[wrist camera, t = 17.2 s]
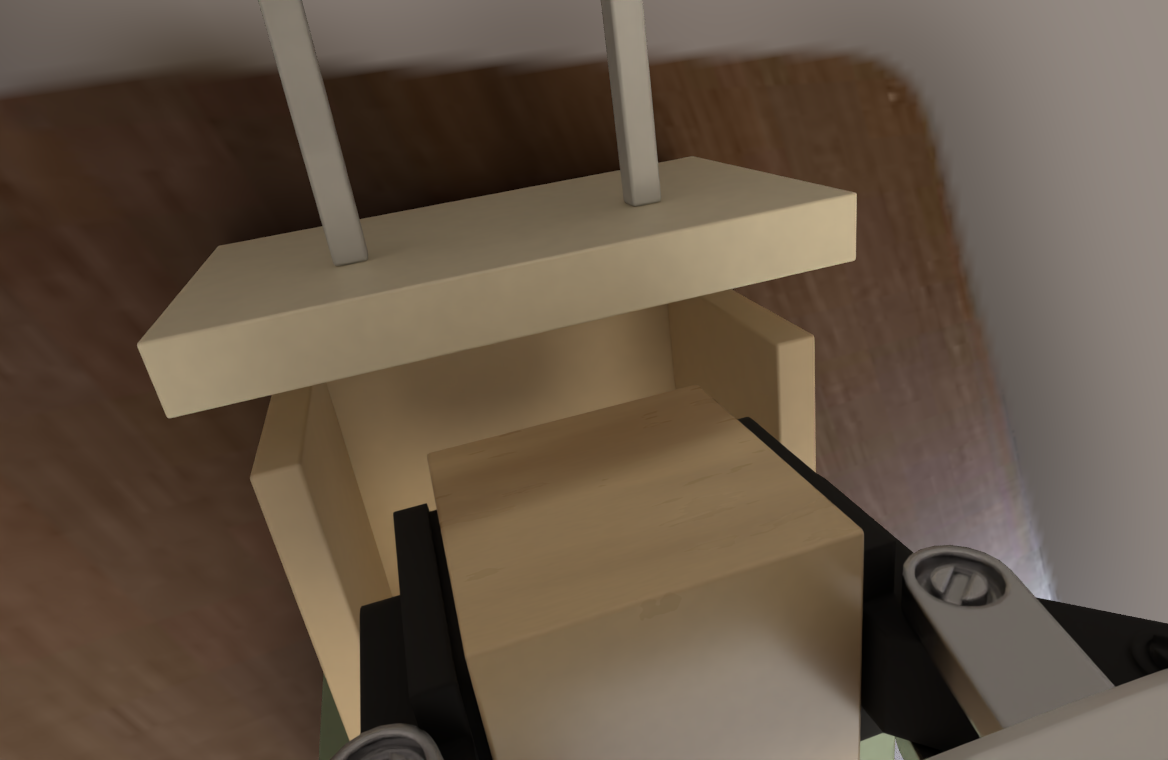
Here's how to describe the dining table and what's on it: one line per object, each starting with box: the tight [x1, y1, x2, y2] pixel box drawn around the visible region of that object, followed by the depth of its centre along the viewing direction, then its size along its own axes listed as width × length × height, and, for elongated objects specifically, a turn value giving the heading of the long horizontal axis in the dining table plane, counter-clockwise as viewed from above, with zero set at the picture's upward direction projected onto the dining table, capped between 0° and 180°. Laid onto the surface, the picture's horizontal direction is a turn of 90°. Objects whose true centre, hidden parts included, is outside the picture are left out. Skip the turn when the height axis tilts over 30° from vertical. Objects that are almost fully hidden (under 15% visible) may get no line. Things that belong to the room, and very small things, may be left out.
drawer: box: [137, 0, 857, 741], centre depth 16 cm, size 19×11×7 cm, turn 8°
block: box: [427, 385, 864, 760], centre depth 11 cm, size 4×4×4 cm
